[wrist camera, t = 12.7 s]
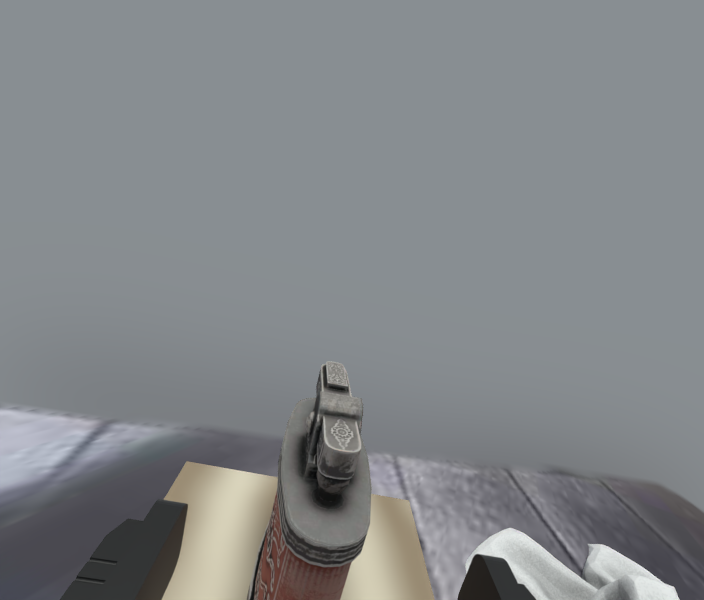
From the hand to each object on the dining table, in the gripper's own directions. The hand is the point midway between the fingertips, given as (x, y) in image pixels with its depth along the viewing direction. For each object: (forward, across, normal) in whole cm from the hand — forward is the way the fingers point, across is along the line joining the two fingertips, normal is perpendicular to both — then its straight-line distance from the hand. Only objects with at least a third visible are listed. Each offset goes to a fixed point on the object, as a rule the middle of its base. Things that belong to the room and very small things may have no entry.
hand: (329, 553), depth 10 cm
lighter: (+4, 0, +8) cm, 9 cm away
